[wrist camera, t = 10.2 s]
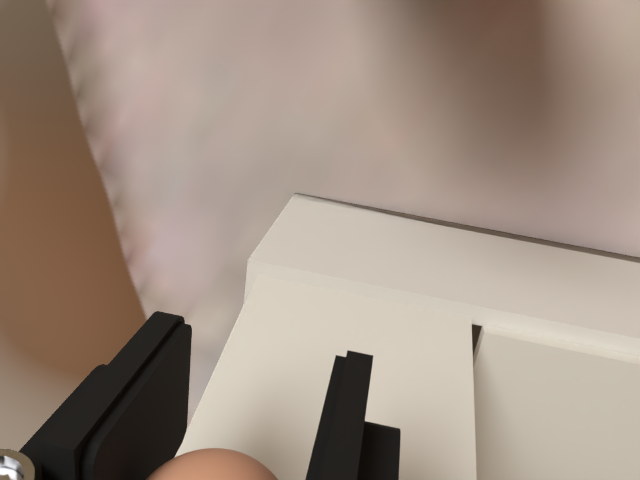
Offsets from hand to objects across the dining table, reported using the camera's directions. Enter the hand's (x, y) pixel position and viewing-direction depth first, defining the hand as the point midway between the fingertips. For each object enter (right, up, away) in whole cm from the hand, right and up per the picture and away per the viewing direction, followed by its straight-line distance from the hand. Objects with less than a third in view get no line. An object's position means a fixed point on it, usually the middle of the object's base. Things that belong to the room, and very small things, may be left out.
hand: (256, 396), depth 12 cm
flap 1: (+2, -3, +5) cm, 6 cm away
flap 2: (+11, -7, +12) cm, 17 cm away
